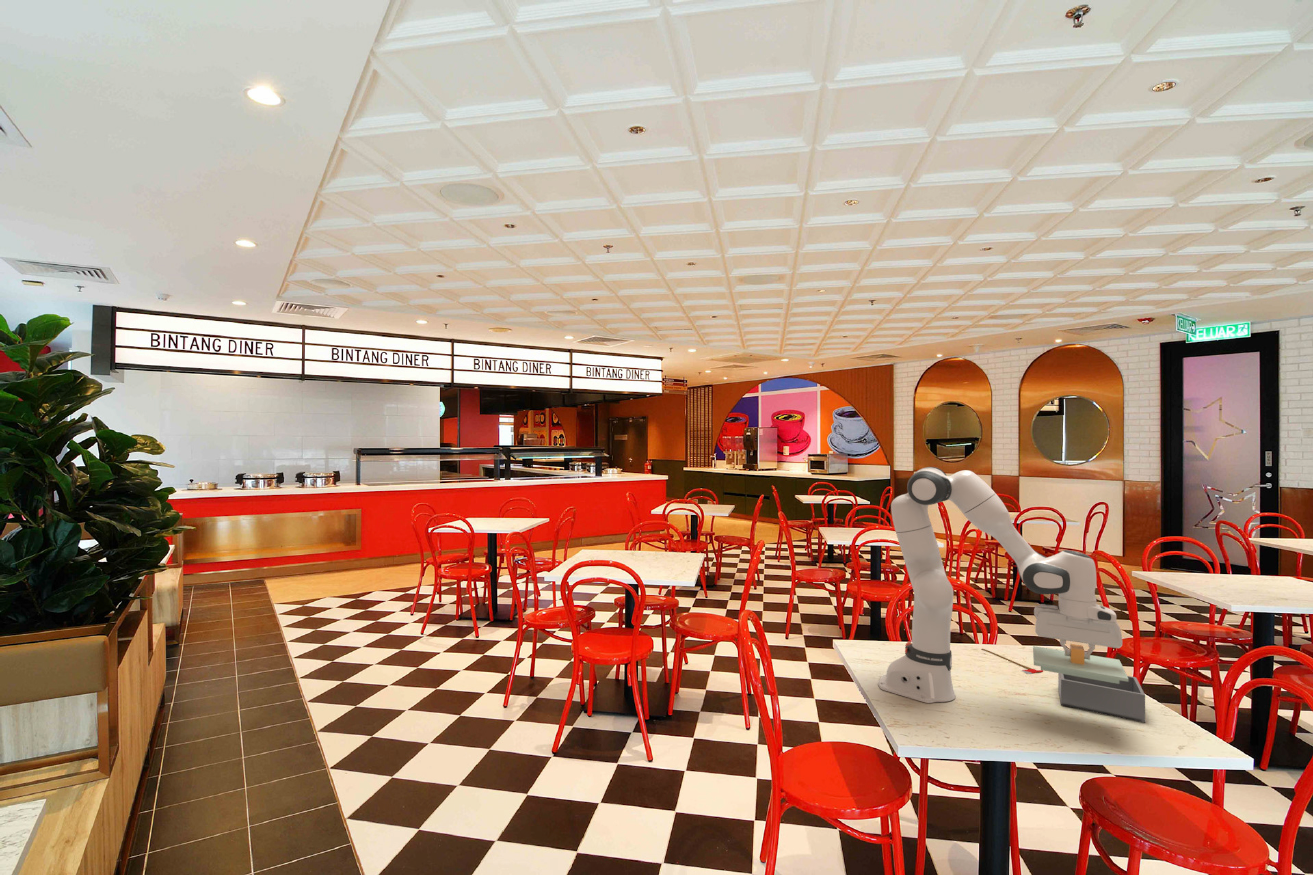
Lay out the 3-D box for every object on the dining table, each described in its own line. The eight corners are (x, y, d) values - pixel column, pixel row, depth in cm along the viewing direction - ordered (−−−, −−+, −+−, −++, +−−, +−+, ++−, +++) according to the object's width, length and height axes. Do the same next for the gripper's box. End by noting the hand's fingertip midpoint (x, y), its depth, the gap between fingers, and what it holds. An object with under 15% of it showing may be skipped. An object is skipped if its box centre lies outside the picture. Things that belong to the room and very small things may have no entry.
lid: (1033, 670, 166) (1033, 648, 166) (1032, 653, 181) (1032, 632, 181) (1128, 687, 155) (1128, 663, 155) (1119, 667, 169) (1119, 645, 170)
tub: (1060, 705, 180) (1061, 679, 180) (1058, 688, 194) (1058, 663, 194) (1144, 722, 170) (1145, 694, 170) (1135, 703, 183) (1136, 677, 183)
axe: (1022, 675, 206) (1050, 675, 206) (1022, 672, 206) (1050, 672, 206) (980, 650, 231) (1005, 650, 231) (980, 648, 231) (1005, 648, 232)
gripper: (1034, 605, 171) (1033, 653, 171) (1123, 616, 160) (1123, 667, 160) (1033, 600, 176) (1033, 647, 176) (1120, 611, 166) (1120, 661, 165)
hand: (1077, 657), depth 168 cm, fingers closed on lid, 3 cm apart
